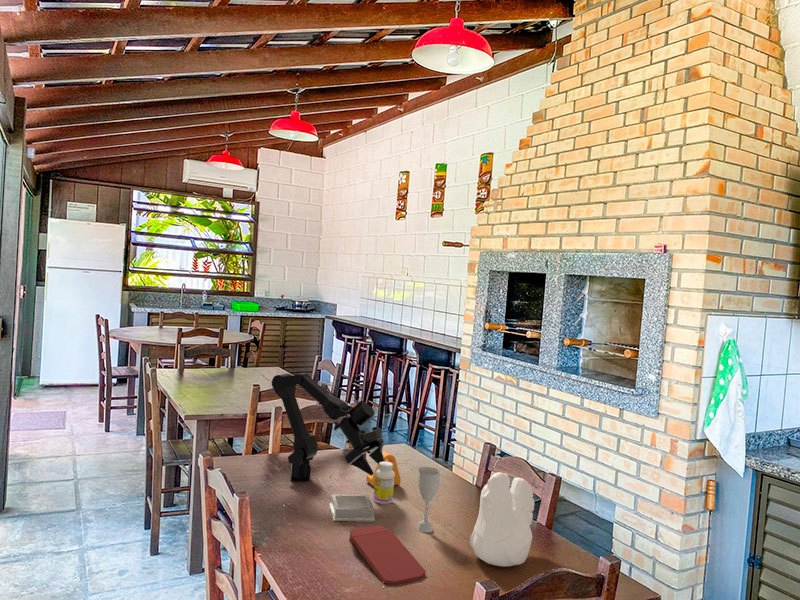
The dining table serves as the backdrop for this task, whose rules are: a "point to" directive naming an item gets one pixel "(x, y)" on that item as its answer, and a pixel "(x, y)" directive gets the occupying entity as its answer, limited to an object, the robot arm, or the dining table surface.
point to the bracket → (392, 459)
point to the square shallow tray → (351, 508)
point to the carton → (386, 554)
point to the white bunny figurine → (504, 521)
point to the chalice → (428, 493)
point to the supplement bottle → (384, 483)
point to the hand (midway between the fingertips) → (378, 471)
